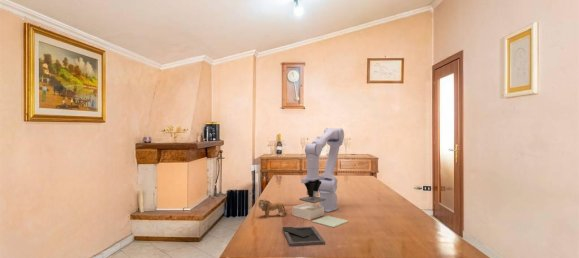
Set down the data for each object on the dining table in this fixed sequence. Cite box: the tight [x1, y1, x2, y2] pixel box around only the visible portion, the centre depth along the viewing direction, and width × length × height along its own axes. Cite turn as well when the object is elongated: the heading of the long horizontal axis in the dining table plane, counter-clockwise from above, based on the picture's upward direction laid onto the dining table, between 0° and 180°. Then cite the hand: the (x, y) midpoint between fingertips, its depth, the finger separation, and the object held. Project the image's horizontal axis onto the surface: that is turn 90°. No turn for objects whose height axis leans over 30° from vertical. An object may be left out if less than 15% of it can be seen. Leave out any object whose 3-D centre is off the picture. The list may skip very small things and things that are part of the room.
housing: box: [291, 202, 325, 221], centre depth 156 cm, size 11×11×4 cm
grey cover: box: [299, 190, 326, 204], centre depth 154 cm, size 9×9×4 cm
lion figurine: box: [257, 198, 288, 218], centre depth 154 cm, size 15×5×9 cm, turn 109°
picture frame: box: [282, 225, 326, 247], centre depth 126 cm, size 13×2×18 cm
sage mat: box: [311, 215, 349, 228], centre depth 146 cm, size 12×12×1 cm
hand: (312, 196), depth 154 cm, fingers closed on grey cover, 2 cm apart
